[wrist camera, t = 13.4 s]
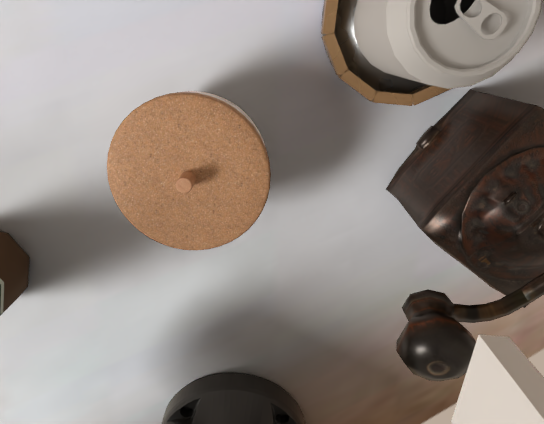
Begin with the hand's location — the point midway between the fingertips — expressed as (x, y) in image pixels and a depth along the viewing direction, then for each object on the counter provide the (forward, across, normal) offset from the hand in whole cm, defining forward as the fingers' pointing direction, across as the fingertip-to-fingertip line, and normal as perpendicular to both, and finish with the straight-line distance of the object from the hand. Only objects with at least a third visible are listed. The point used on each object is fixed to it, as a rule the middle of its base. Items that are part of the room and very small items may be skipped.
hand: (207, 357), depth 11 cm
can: (+25, -10, -10) cm, 29 cm away
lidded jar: (+27, +3, +1) cm, 27 cm away
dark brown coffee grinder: (+27, -17, +2) cm, 32 cm away
